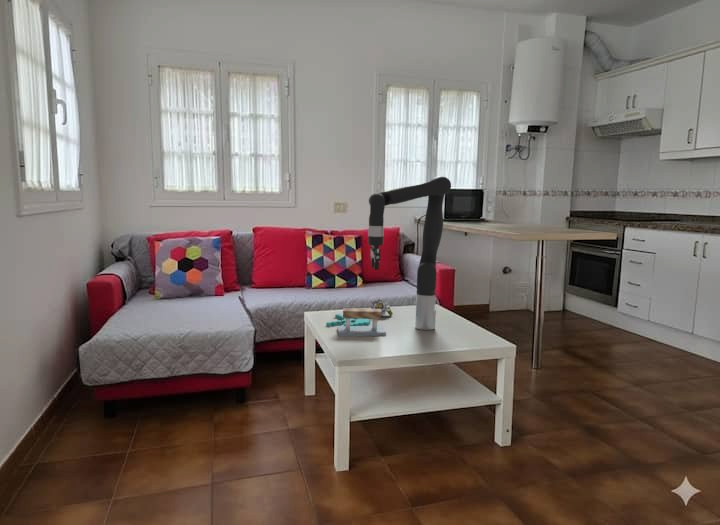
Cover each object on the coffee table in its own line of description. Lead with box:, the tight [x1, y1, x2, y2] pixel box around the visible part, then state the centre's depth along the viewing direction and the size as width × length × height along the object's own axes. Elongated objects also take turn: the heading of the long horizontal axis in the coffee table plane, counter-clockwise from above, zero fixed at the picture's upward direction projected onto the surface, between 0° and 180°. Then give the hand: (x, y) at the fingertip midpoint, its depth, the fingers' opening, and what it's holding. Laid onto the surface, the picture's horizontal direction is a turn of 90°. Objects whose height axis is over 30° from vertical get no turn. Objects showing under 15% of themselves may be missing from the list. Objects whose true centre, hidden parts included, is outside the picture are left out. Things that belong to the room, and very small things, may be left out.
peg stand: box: [336, 318, 387, 337], centre depth 233 cm, size 22×12×8 cm, turn 98°
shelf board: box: [342, 307, 382, 320], centre depth 232 cm, size 18×6×4 cm, turn 91°
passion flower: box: [370, 298, 394, 318], centre depth 265 cm, size 11×11×12 cm
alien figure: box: [325, 313, 372, 328], centre depth 250 cm, size 20×2×20 cm
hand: (375, 268), depth 236 cm, fingers open, 8 cm apart
